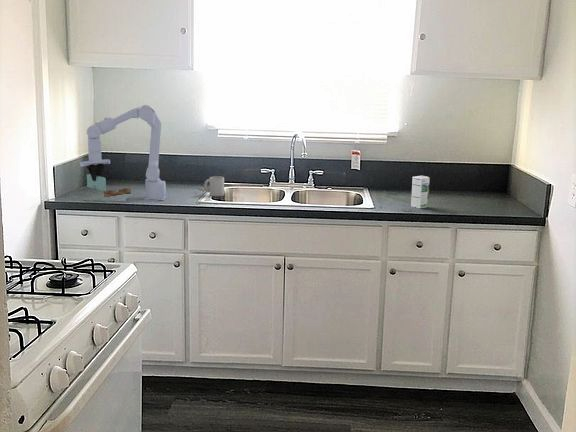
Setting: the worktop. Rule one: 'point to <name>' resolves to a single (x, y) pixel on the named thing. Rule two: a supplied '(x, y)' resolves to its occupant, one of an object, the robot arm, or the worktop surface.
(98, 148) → the robot arm
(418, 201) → the syrup box
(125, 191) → the brown notched bar
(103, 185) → the teal bar
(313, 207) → the worktop surface
